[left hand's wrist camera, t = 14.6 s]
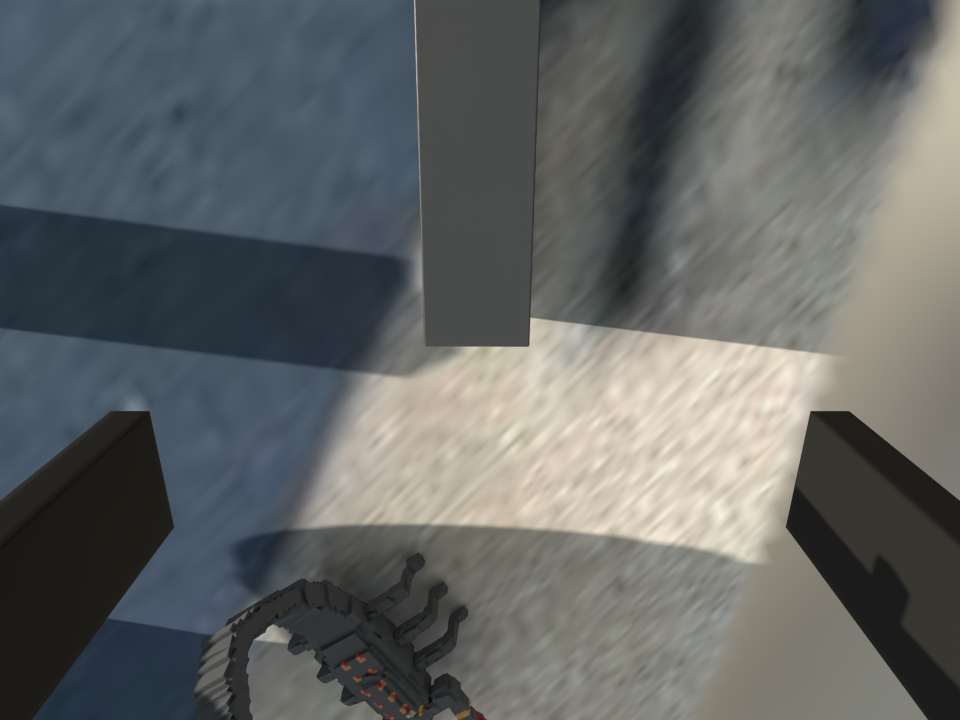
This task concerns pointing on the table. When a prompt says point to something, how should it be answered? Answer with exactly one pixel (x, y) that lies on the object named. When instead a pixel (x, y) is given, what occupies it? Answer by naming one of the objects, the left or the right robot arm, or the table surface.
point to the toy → (339, 651)
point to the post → (477, 167)
